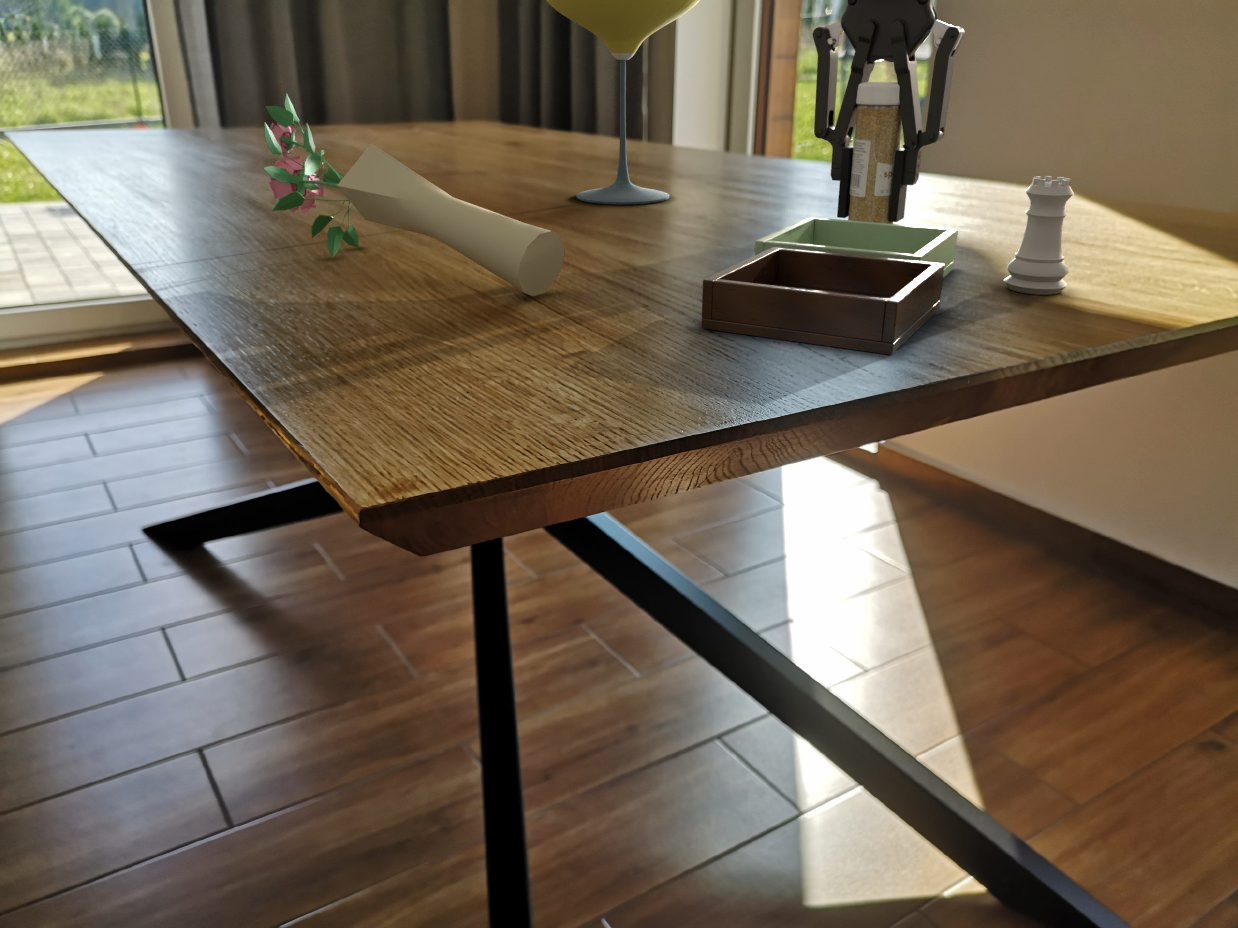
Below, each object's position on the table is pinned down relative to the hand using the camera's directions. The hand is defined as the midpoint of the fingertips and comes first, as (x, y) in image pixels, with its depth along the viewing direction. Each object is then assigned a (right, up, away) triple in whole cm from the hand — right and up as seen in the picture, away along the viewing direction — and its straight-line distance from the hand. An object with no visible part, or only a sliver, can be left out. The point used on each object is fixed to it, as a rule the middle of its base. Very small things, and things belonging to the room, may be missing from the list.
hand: (870, 217), depth 100 cm
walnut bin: (-11, -14, -31) cm, 36 cm away
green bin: (-6, -9, -19) cm, 22 cm away
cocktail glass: (-24, +7, +20) cm, 32 cm away
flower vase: (-43, -8, -15) cm, 46 cm away
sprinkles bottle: (0, -1, +1) cm, 1 cm away
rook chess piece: (+7, -11, -23) cm, 26 cm away
